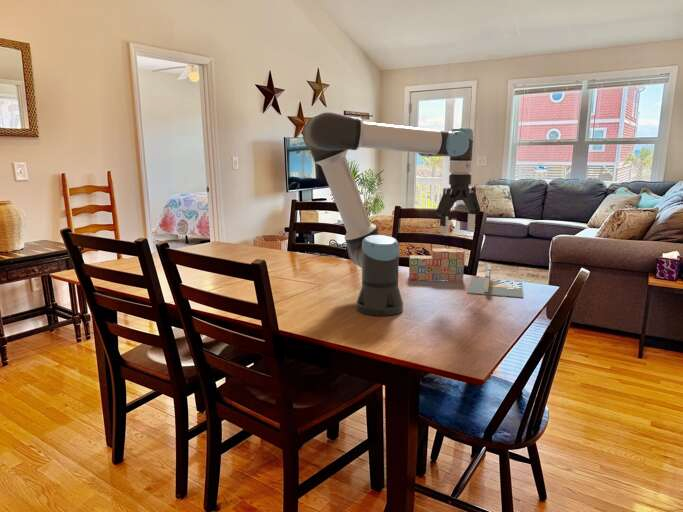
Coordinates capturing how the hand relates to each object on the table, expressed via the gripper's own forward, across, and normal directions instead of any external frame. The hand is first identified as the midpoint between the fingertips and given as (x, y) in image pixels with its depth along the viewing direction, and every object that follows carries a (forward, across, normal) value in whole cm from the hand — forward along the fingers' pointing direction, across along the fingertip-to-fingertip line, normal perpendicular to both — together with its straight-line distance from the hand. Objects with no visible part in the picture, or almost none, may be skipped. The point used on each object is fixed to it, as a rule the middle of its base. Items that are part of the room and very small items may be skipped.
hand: (457, 233), depth 171 cm
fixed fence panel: (+22, +20, +2) cm, 29 cm away
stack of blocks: (+22, +7, +18) cm, 29 cm away
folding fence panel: (+21, +11, -5) cm, 24 cm away
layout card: (+22, +16, -5) cm, 28 cm away
